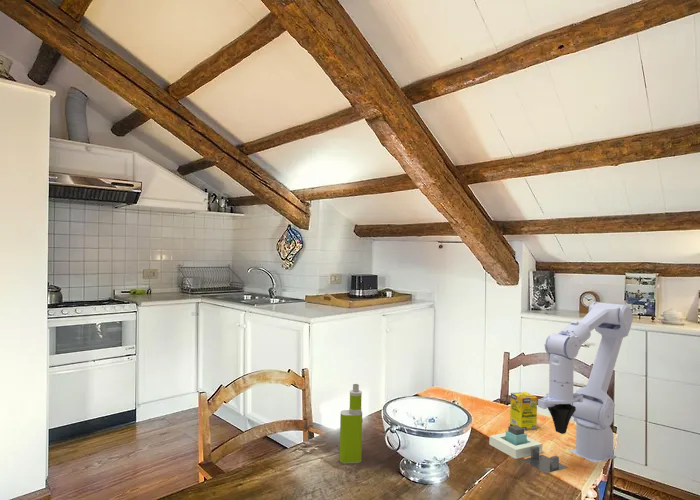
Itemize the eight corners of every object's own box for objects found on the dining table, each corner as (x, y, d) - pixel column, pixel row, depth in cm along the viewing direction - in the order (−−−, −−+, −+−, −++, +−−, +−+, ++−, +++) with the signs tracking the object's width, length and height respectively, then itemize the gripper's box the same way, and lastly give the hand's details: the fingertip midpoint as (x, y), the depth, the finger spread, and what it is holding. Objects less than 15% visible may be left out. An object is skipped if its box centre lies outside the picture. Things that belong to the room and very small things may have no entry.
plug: (515, 446, 127) (516, 424, 127) (526, 452, 123) (526, 429, 123) (505, 449, 125) (505, 426, 125) (516, 455, 121) (516, 431, 121)
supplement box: (521, 433, 137) (521, 398, 137) (509, 425, 143) (510, 392, 143) (537, 431, 138) (537, 397, 139) (525, 424, 144) (525, 391, 144)
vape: (362, 462, 115) (364, 386, 115) (340, 463, 114) (342, 387, 114) (360, 456, 118) (362, 382, 119) (338, 457, 118) (340, 383, 118)
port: (514, 440, 131) (514, 430, 131) (542, 454, 122) (542, 443, 122) (489, 446, 127) (489, 435, 127) (515, 461, 118) (516, 449, 118)
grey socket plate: (542, 456, 120) (542, 443, 121) (568, 469, 113) (568, 455, 113) (521, 461, 117) (521, 448, 117) (546, 475, 110) (546, 461, 110)
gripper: (567, 373, 121) (566, 423, 121) (528, 379, 115) (528, 430, 115) (590, 380, 115) (590, 432, 114) (551, 386, 108) (550, 441, 108)
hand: (560, 432), depth 114 cm, fingers closed
